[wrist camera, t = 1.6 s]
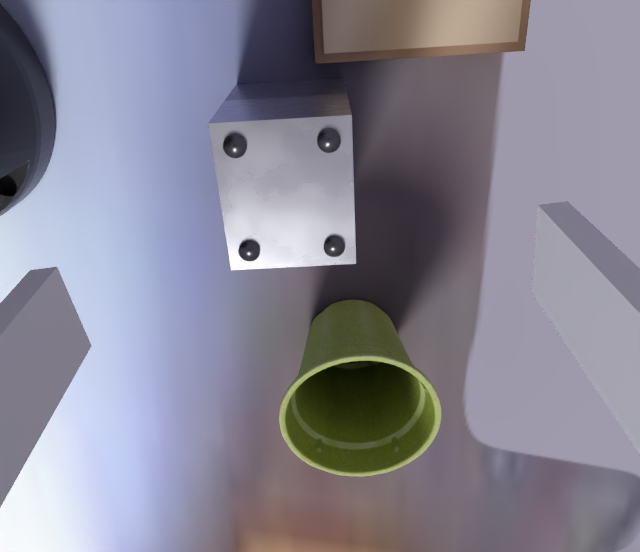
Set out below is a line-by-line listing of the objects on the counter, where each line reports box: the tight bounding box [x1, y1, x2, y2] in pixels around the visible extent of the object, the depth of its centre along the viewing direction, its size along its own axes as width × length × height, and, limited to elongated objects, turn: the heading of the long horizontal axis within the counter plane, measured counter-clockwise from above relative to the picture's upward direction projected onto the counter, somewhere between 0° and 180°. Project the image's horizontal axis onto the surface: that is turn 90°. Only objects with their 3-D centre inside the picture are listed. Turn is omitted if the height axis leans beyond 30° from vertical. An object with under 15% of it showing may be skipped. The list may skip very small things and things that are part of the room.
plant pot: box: [279, 300, 441, 476], centre depth 35 cm, size 9×9×9 cm
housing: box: [208, 78, 356, 270], centre depth 28 cm, size 6×7×9 cm
